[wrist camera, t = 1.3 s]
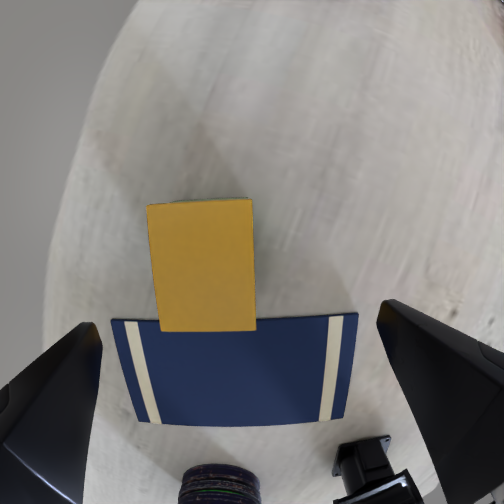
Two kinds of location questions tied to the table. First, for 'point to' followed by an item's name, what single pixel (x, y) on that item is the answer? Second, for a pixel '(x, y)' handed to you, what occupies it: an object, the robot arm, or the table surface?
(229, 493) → the storage jar
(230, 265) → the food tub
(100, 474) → the table surface
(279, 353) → the tea towel
